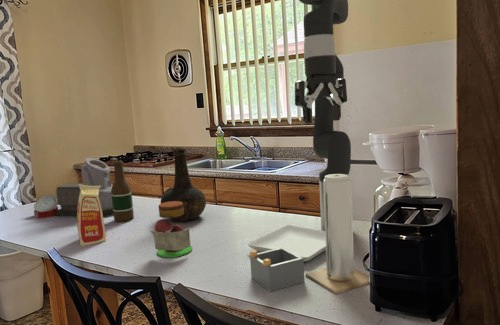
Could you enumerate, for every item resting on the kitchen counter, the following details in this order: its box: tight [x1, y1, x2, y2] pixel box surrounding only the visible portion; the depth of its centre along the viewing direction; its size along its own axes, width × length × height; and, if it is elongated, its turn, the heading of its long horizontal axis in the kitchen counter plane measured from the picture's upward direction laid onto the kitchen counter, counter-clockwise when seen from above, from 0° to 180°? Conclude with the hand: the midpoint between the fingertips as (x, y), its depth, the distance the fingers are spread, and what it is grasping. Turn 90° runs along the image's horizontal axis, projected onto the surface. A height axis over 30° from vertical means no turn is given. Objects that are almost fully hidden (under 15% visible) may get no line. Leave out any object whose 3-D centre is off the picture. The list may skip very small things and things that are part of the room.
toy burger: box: [149, 201, 193, 258], centre depth 129 cm, size 12×13×15 cm
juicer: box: [53, 157, 114, 219], centre depth 184 cm, size 30×16×24 cm, turn 75°
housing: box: [249, 247, 305, 293], centre depth 104 cm, size 10×10×7 cm
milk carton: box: [76, 185, 107, 247], centre depth 145 cm, size 9×9×20 cm
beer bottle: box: [111, 160, 135, 223], centre depth 169 cm, size 8×8×24 cm
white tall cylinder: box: [323, 174, 355, 281], centre depth 101 cm, size 6×6×25 cm
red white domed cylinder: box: [33, 194, 59, 219], centre depth 187 cm, size 11×10×10 cm
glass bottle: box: [160, 147, 207, 222], centre depth 165 cm, size 18×18×28 cm
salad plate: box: [247, 224, 326, 262], centre depth 126 cm, size 21×21×3 cm
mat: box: [305, 267, 370, 295], centre depth 103 cm, size 12×12×1 cm
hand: (322, 121), depth 106 cm, fingers open, 8 cm apart
